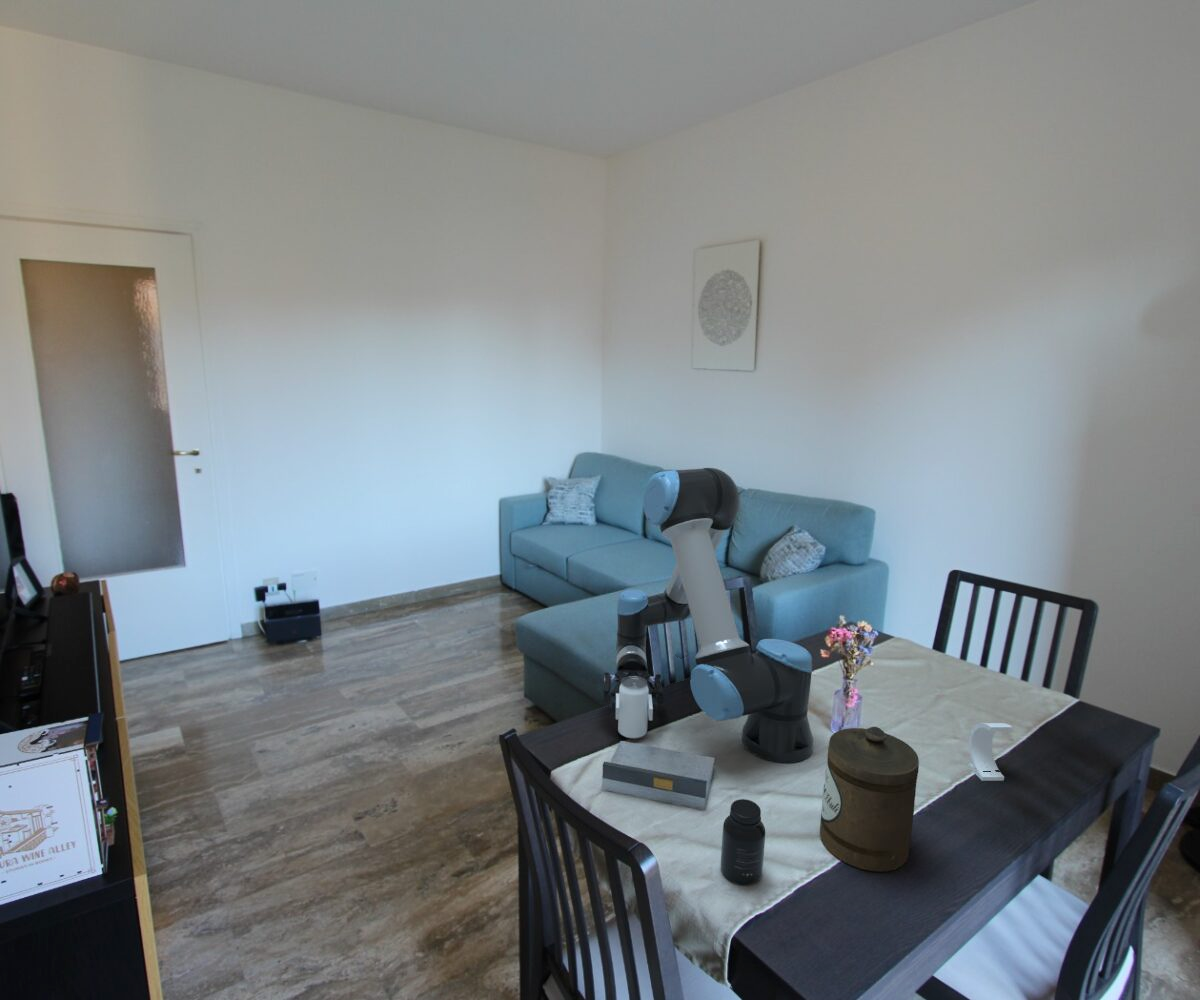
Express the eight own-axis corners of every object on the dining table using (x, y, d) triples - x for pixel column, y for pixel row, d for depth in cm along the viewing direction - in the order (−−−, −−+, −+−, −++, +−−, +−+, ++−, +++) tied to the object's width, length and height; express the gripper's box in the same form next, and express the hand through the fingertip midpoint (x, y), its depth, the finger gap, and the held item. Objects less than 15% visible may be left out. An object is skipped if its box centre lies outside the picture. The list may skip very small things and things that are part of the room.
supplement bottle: (715, 857, 119) (720, 795, 117) (754, 856, 120) (760, 793, 117) (726, 888, 113) (730, 822, 110) (767, 886, 113) (773, 820, 111)
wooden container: (829, 805, 134) (840, 700, 129) (913, 833, 127) (928, 722, 122) (809, 851, 121) (821, 736, 117) (901, 885, 114) (918, 764, 109)
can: (647, 725, 159) (649, 676, 157) (646, 740, 153) (648, 689, 150) (619, 723, 160) (620, 674, 157) (616, 738, 153) (618, 687, 151)
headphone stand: (982, 780, 143) (990, 727, 141) (965, 763, 149) (973, 712, 146) (1003, 780, 143) (1012, 727, 141) (986, 763, 149) (994, 712, 147)
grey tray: (713, 768, 145) (715, 744, 144) (704, 811, 131) (705, 785, 130) (620, 751, 150) (621, 728, 149) (601, 790, 136) (602, 765, 135)
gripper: (670, 682, 173) (678, 731, 150) (592, 679, 173) (588, 728, 151) (671, 654, 171) (680, 699, 149) (592, 651, 172) (589, 696, 149)
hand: (634, 714), depth 150 cm, fingers closed on can, 6 cm apart
